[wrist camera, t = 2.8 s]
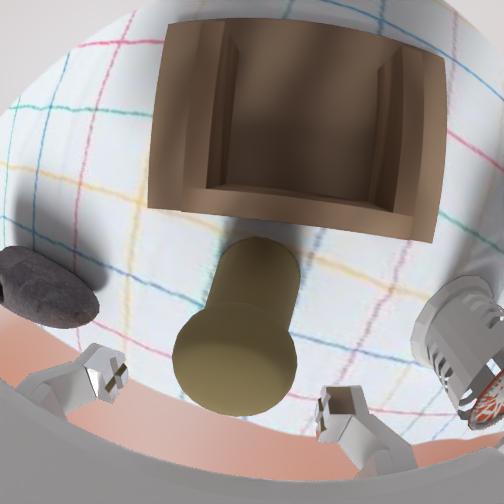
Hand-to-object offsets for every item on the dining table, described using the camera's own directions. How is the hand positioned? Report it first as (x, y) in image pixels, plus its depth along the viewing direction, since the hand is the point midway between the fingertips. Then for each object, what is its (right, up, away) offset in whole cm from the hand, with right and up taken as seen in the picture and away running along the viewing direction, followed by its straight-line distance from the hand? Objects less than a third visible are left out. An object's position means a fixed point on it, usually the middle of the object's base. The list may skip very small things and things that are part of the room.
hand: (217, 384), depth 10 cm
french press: (+20, -2, +9) cm, 22 cm away
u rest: (+5, +13, +6) cm, 16 cm away
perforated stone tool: (-18, +3, +13) cm, 23 cm away
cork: (+2, +3, +10) cm, 11 cm away
